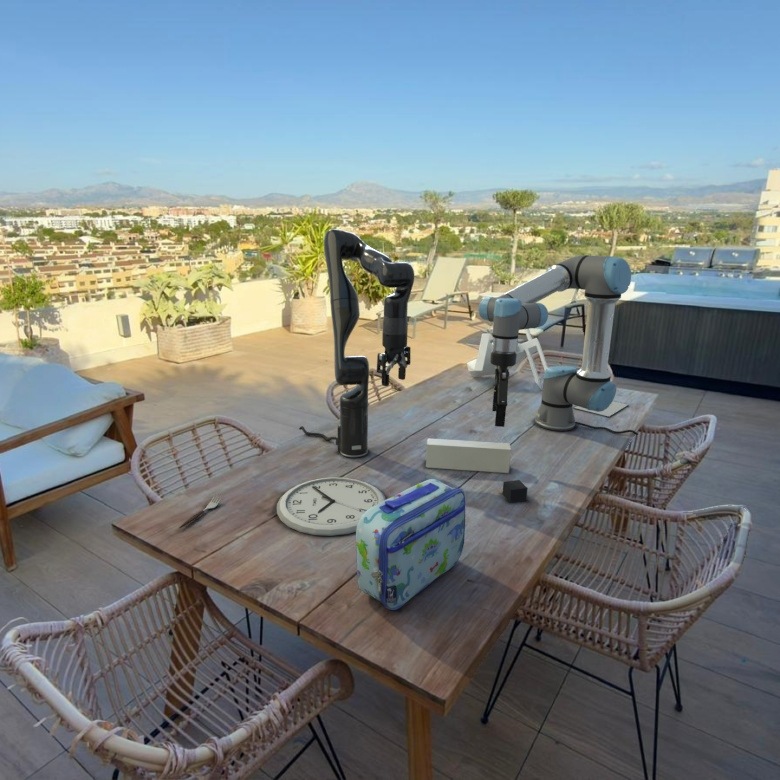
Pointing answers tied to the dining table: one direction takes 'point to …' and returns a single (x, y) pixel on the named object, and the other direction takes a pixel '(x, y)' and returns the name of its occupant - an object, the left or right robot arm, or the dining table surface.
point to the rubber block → (514, 491)
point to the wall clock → (327, 505)
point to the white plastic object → (484, 366)
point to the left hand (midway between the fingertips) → (393, 382)
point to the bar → (468, 455)
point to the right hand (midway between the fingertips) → (498, 418)
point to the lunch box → (409, 541)
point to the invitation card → (609, 411)
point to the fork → (209, 506)
